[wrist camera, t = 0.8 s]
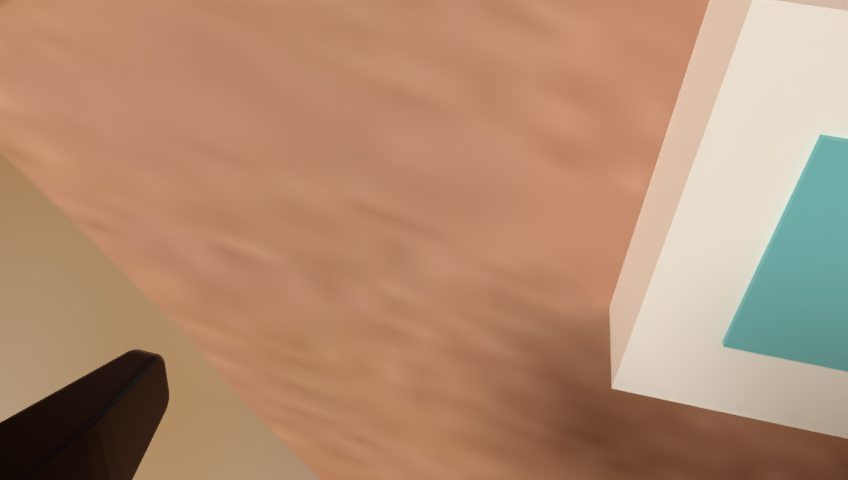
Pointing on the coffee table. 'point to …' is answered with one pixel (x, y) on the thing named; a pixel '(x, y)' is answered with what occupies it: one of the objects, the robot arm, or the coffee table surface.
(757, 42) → the carton
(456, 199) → the coffee table surface
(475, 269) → the coffee table surface
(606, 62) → the coffee table surface
